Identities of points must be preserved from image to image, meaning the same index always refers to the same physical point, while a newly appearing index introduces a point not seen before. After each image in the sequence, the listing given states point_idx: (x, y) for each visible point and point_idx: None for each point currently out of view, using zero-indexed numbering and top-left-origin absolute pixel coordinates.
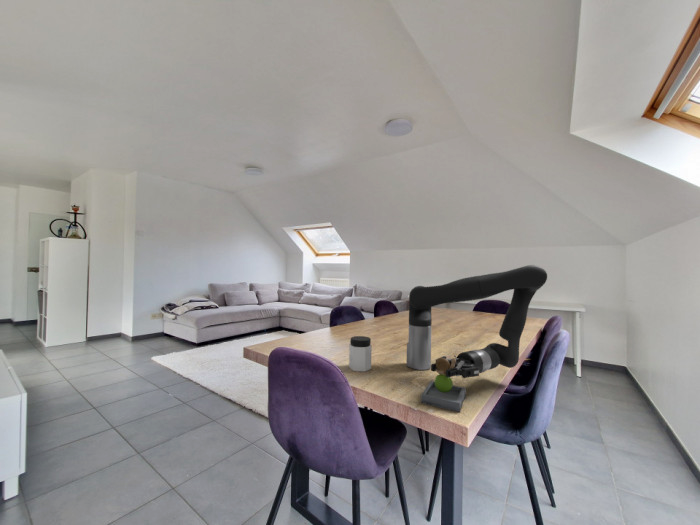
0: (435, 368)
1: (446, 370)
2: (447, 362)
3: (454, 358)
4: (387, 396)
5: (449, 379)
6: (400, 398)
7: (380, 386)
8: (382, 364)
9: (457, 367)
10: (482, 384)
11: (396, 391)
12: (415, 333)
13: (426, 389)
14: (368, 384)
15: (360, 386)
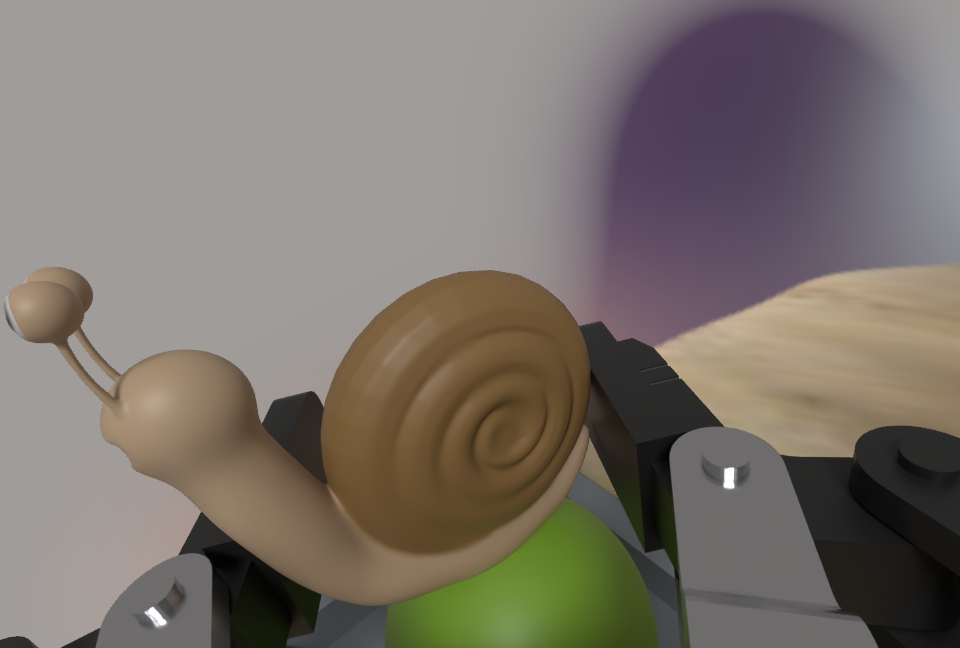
0: (591, 415)
1: (305, 394)
2: (340, 376)
3: (131, 377)
4: (671, 357)
5: (396, 608)
6: None
7: (856, 352)
8: None
9: (160, 578)
10: None
11: (763, 409)
12: None
13: (615, 512)
14: (879, 311)
15: (826, 286)
